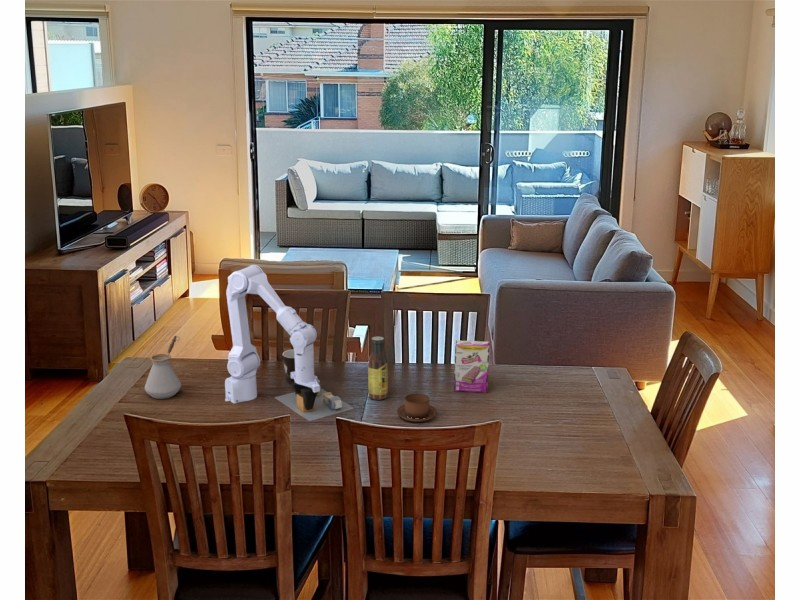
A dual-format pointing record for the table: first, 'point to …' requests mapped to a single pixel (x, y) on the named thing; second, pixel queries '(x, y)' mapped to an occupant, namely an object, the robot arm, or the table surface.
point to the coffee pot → (162, 376)
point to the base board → (320, 407)
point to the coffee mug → (289, 364)
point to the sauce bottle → (378, 370)
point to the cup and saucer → (416, 408)
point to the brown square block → (302, 403)
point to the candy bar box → (471, 366)
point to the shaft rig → (330, 399)
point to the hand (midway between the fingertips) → (305, 406)
